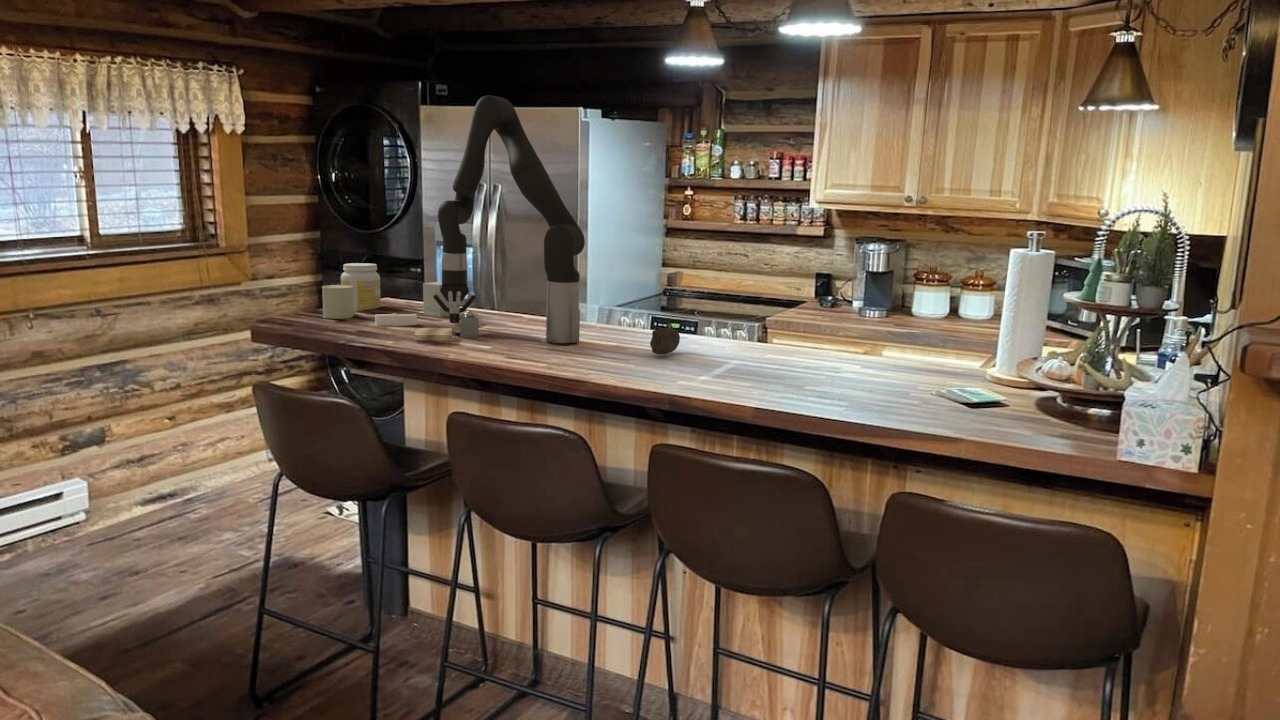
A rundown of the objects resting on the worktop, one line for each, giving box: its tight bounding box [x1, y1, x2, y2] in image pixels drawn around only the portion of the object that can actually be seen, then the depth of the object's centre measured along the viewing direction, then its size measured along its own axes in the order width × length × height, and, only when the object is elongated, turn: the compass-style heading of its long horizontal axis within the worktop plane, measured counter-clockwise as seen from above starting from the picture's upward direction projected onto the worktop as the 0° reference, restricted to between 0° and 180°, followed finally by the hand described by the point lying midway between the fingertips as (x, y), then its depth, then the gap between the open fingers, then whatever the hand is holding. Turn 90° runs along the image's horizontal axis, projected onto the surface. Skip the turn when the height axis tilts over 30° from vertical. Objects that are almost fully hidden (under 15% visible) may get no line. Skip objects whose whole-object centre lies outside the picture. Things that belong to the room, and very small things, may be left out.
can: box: [321, 284, 355, 320], centre depth 289 cm, size 9×9×12 cm
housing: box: [460, 310, 479, 339], centre depth 276 cm, size 5×9×7 cm, turn 10°
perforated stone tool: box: [649, 327, 681, 355], centre depth 258 cm, size 15×5×7 cm, turn 153°
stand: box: [413, 327, 453, 345], centre depth 266 cm, size 10×13×2 cm
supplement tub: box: [340, 262, 382, 313], centre depth 307 cm, size 12×12×17 cm
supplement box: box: [422, 281, 456, 318], centre depth 299 cm, size 7×7×13 cm
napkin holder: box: [374, 312, 418, 327], centre depth 280 cm, size 15×11×6 cm
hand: (454, 325), depth 287 cm, fingers closed
